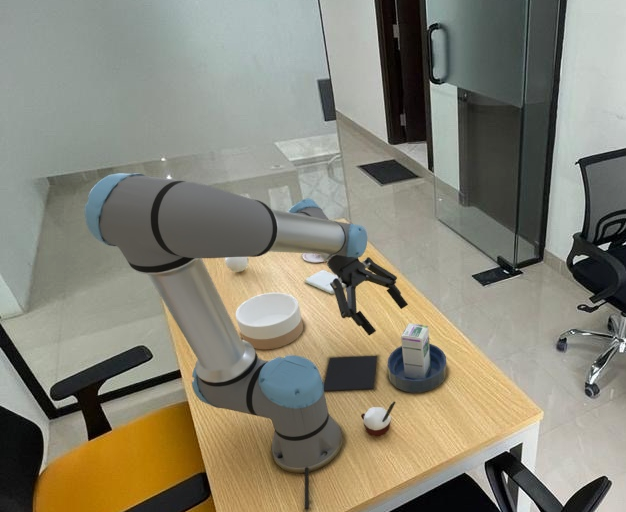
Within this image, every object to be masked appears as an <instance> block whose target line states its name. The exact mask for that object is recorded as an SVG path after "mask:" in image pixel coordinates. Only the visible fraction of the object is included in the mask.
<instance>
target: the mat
mask: <svg viewBox="0 0 626 512" xmlns="http://www.w3.org/2000/svg"><path fill="white" fill-rule="evenodd" d="M377 361H378V355H362V356H338V357H337V356H336V357H333V356H332V357H329V359H328V365H327V369H326V373H325V377H324V381H323V385H324V392H342V391H364V390H365V391H366V390H374V389H375V379H376V371H377V370H376V369H377Z"/></svg>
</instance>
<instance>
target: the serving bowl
mask: <svg viewBox="0 0 626 512" xmlns="http://www.w3.org/2000/svg"><path fill="white" fill-rule="evenodd" d="M429 345H430V362H431V367H430V370H429V372H428V374H427V376H426V378H424V379H413V378H408V377H405V372H404V362H403V352H402V345H401V346H400V345H399V346H398V347H396V348H395V349H394V350H393V351H392V352H391V353H390V354H389V356H388V358H387V375H388V378H389V382H390V383H391V384H392V385H393V386H394V387H395V388H396V389H399V390H400V391H402V392H406V393H413V394H415V393H416V394H417V393H425V392H428V391H432V390H434V389H435V388H437V387H439V386H440V385H441V384H442V383H443V382H444V381H445V379H446V376H447V355H446V354H445V353H444V350H443V349H441V348H440V347H439V346H437V345H434V344H432V343H430V342H429Z"/></svg>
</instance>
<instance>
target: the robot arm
mask: <svg viewBox="0 0 626 512" xmlns="http://www.w3.org/2000/svg"><path fill="white" fill-rule="evenodd" d="M87 198H88V200H87V202H86V203H85V204H84V205H85V206H84V219H85V223H86V226H87V228H88V230H89V232H90V233H91V235H92V236H93V237H94V238H95V239H96V240H98V241H99V242H101V243H103V244H105V245H107V246H108V247H109V246H111V247H117V248H118V249H119V250H120V252H121V253H122V255H123V257H124V258H125V260H126V262H127V263H128V265H129V266H130V268H131V269H132V270H133V271H135V272H137V273H140V274H144V275H147V276H148V278H149V280H150V281H151V283H152V284H153V286H154V288H155V289H156V291H157V293H158V295H159V297H160V298H161V300H162V301H163V303H164V305H165V306H166V308H167V309H168V311H169V314H170V315H171V316H172V318H173V320H174V321H175V323H176V325H177V327H178V328H179V330H180V331H181V333H182V335H183V337H184V338H185V340H186V342H187V343H188V345H189V348H191V350H192V352H193V353H194V356H195V357H196V358H197V360H196V362H195V366H194V368H193V371H192V376H191V377H192V378H194V379H193V380H192V381H191V386H192V390H193V392H194V394H195V396H196V397H197V399H198V400H200V401H201V402H202V403H204V404H206V405H208V406H209V405H210V407H211V406H212V407H214V408H216V409H217V408H218V409H224V410H229V411H233V412H238V413H242V414H247V415H252V416H256V417H261V418H265V419H269V420H270V421H271V422H272V423H271V424H272V426H273V429H274V430H273V436H272V443H271V453H272V456H273V460H274V462H275V463H276V465H277V466H278V467H280V468H281V469H282V470H284V471H285V472H289V473H295V474H304V510H309V509H310V506H309V505H310V493H309V492H310V486H309V485H310V484H309V483H310V482H309V481H310V480H309V478H310V477H309V476H310V475H309V474H310V472H313V471H317V470H319V469H322V468H323V467H325V466H327V465H328V464H329V463H331V462H332V461H333V460H334V459H335V458H336V457H337V455H339V453H340V450H341V448H342V445H343V435H342V431H341V428H340V426H339V424H338V423H337V422H336V420H335V419H334V418H333V416H332V415H331V414H330V413H329V408H328V404H327V399H326V394H325V391H324V381H323V379H322V375H321V373H320V370H319V368H318V366H317V365H316V364H315V363H314V362H313V361H311V360H310V359H309V358H307V357H304V356H300V355H296V354H288V355H284V357H281V356H276V357H274V358H272V359H270V360H269V361H268V360H265V359H261V358H260V357H259V356H258V353H257V352H256V348H254V347H253V346H252V345H251V344H250V343H249V342H247V341H245V340H243V339H242V337H240V334H239V332H238V330H237V328H236V326H235V324H234V322H233V319H232V318H231V315H230V314H229V311H228V309H227V308H226V305H225V303H224V301H223V299H222V297H221V295H220V293H219V291H218V289H217V286H216V285H215V283H214V280H213V278H212V276H211V275H210V272H209V270H208V268H207V266H206V264H205V262H204V260H203V259H222V258H223V259H226V258H227V257H247V258H256V257H261V256H264V255H266V254H267V253H289V254H291V253H292V254H296V253H297V254H303V253H311V254H319V256H320V257H321V258H322V260H323V261H325V262H324V263H326V262H327V263H326V266H327V267H328V269H330V271H331V273H332V274H334V275H336V276H338V279H337V278H335V279H334V280H333V281H332V282H331V283H330V285H331V287H332V288H333V290H334V292H335V293H334V295H335V299H336V303H337V306H338V310H339V313H340V316H341V318H342V319H347V318H348V319H350V318H351V319H352V320H353V322H354V323H355V324H356V325H357V326H358V327H361V328H362V329H363V331H364V332H365V333H366V334H367V335H368V336H372V335H373V334H374V333H376V332H377V330H376V328H375V327H374V326H373V325H372V323H370V321H369V319H367V317H366V316H365V315H364V313H363V312H362V311H361V310H359V311H358V310H357V293H356V288H357V287H358V286H359V285H360V284H361V285H362V283H363V282H369V283H373V284H375V285H378V286H382V287H384V288H387V289H386V290H385V291H386V292H387V294H388V295H389V296H390V297H391V299H392V300H393V301H394V302H395V304H396V305H397V306H398V307H399V309H400V310H402V309H404V308H405V307H407V306H408V305H409V303H408V302H407V300H405V298H404V297H403V296H402V295H401V294H402V292H401V291H400V289H399V288H398V287H397V285H396V283H397V280H398V277H397V275H395V274H393V273H392V272H390V271H388V270H387V269H385V268H384V267H382V266H381V265H379V264H377V263H376V262H374V261H373V259H372V258H371V257H369V256H368V257H366V258H365V259H364V260H362V262H361V260H359V258H360V257H362V256H363V255H364V254H365V252H366V250H367V246H368V232H367V230H366V228H365V227H364V226H362V225H360V224H355V223H352V222H351V223H349V222H341V221H337V220H332V219H331V220H330V219H329V217H328V216H327V215H326V214H325V212H324V211H323V209H322V208H321V207H320V206H319V205H318V204H317V203H316V202H315V201H314V199H313V198H304V199H302V200H300V201H298V202H296V203H295V204H294V205H292V206H291V207H290V208H289V210H288V211H284V210H279V209H273V208H272V207H270V205H268V204H267V203H265V202H263V201H261V200H258V199H254V198H250V197H246V196H243V195H240V194H237V193H233V192H230V191H227V190H224V189H221V188H218V187H215V186H211V185H207V184H205V183H202V182H194V181H186V180H180V179H179V180H178V179H171V178H163V177H155V176H148V175H145V174H142V173H138V172H137V173H136V172H135V173H122V172H121V173H112V174H109V175H107V176H105V177H103V178H102V179H100V180H99V181H97V183H95V185H94V186H93V187H92V188H91V189H90V191H89V193H88V195H87ZM342 283H343V284H345V287H344V288H345V289H344V288H343V287H342Z"/></svg>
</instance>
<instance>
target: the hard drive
mask: <svg viewBox="0 0 626 512" xmlns="http://www.w3.org/2000/svg"><path fill="white" fill-rule="evenodd" d="M335 278H337V279H338V276H337V275H336V274H334V273H333V272H329V271H327V270H325V269H321V270H320V271H317V272H316V273H314V274H312V275H311V276H308V277H307V278H305V283H306V284H308V285H310V286H312V287H315V288H316V289H319V290H321V291H324V292H325V293H327V294H331V295H335V292H334V290H333V288H332V287H331V285H330V283H331V282H332V281H333V280H334V279H335ZM342 287H343V289H344V288H345V284H343V283H342Z"/></svg>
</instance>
